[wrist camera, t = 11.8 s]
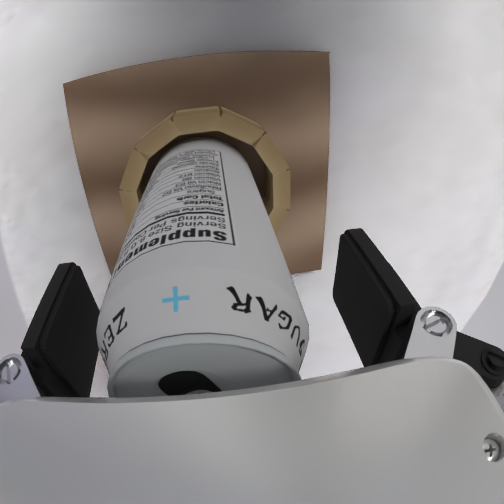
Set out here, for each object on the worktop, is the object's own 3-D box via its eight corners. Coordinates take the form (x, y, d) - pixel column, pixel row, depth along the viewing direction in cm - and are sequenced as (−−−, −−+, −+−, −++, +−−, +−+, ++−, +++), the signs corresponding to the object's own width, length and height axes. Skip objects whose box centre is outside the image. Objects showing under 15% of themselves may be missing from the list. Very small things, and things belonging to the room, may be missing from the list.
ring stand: (69, 82, 15) (45, 88, 13) (323, 52, 17) (346, 51, 14) (120, 286, 24) (112, 316, 21) (317, 262, 26) (331, 289, 23)
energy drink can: (185, 237, 22) (177, 458, 9) (136, 164, 18) (36, 370, 6) (265, 197, 21) (347, 408, 8) (223, 115, 18) (270, 269, 5)
